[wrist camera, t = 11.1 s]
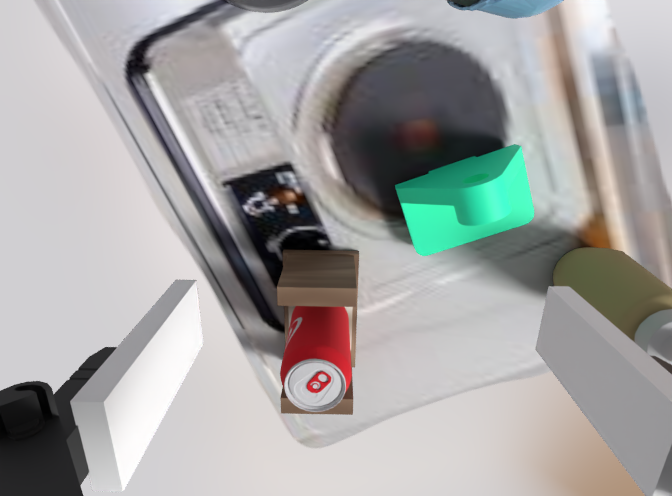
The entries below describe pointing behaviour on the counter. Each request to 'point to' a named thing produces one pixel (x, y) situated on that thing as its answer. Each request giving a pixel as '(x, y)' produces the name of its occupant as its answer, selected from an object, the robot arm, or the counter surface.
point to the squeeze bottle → (621, 295)
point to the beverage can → (317, 357)
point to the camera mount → (467, 200)
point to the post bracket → (320, 300)
